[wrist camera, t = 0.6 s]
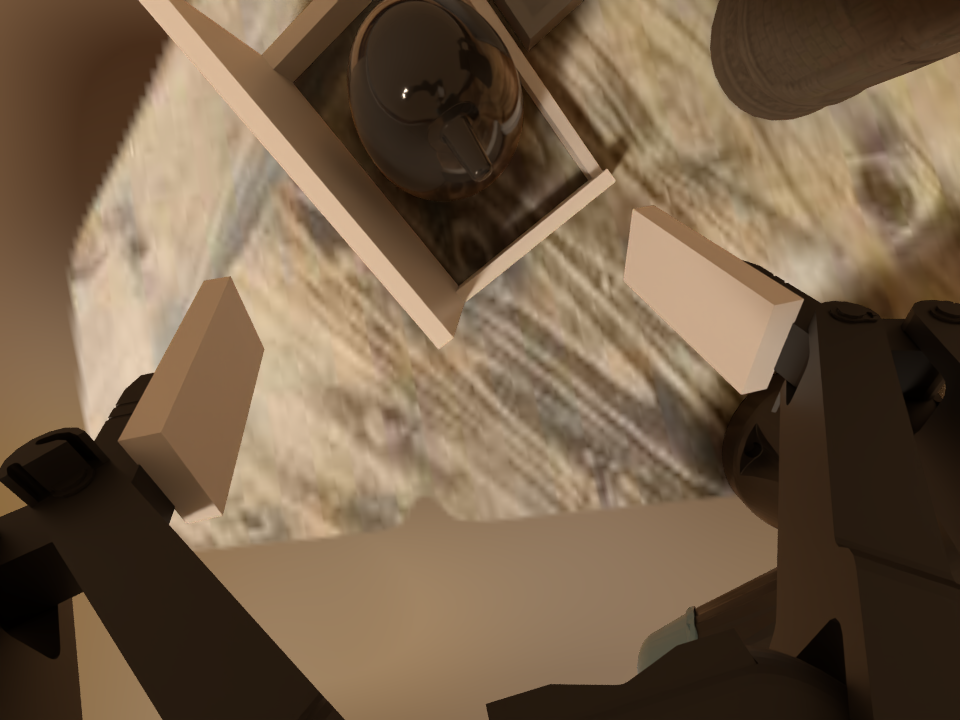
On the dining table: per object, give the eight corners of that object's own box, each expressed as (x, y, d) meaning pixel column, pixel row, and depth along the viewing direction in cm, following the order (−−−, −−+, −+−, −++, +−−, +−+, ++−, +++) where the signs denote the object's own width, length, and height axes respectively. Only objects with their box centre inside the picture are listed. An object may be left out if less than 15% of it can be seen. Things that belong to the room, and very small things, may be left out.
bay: (605, 184, 33) (673, 164, 21) (456, 303, 36) (438, 349, 24) (424, -80, 29) (374, -305, 16) (272, 80, 32) (131, -8, 19)
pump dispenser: (430, 233, 34) (387, 244, 20) (346, 104, 32) (225, 9, 17) (547, 152, 33) (593, 100, 18) (467, 9, 30) (446, -185, 16)
